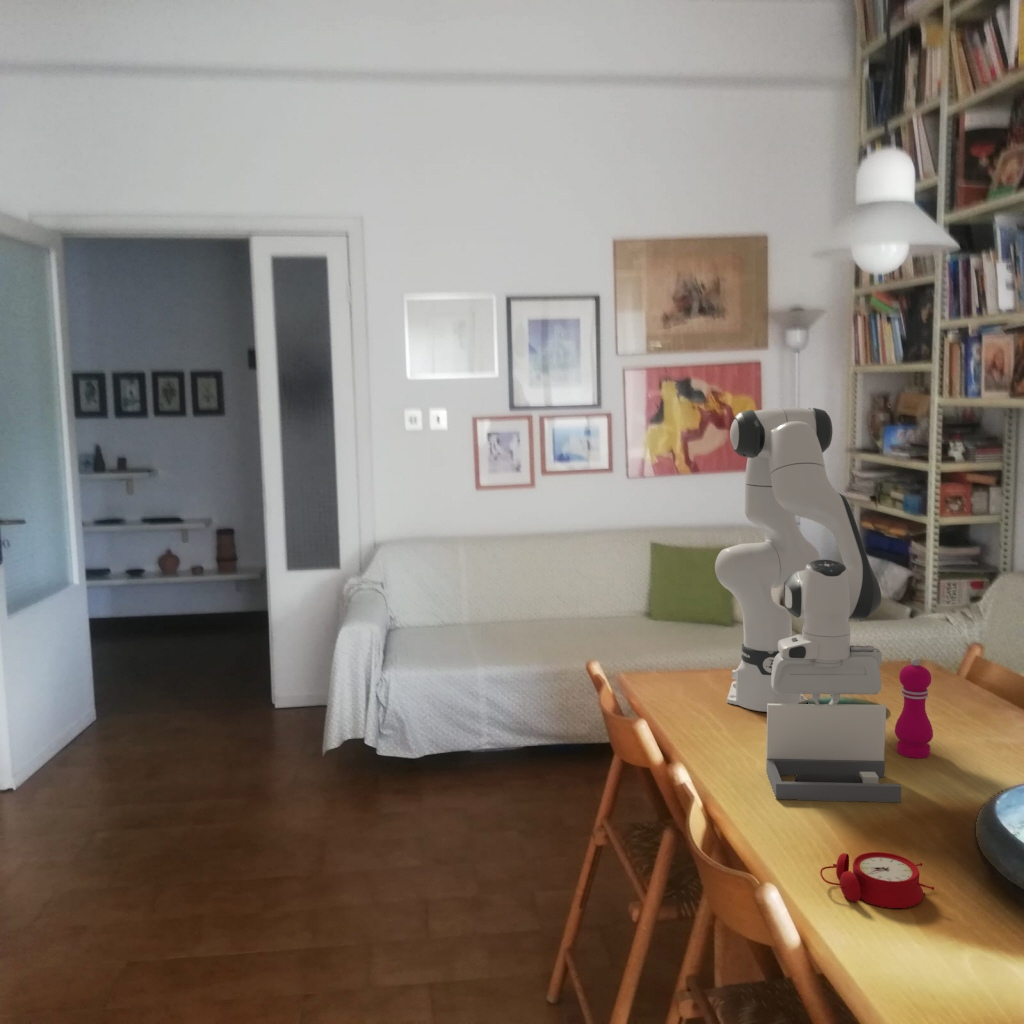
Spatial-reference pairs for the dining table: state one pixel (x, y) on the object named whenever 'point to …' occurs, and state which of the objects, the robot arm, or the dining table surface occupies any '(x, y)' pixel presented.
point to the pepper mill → (914, 712)
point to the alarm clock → (879, 879)
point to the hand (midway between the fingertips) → (824, 714)
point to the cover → (826, 731)
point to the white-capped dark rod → (839, 778)
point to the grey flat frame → (827, 789)
